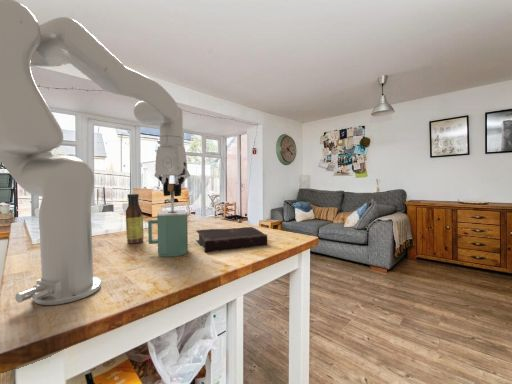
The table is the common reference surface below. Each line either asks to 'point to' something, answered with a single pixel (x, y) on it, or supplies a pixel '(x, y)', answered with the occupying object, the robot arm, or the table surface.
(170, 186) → the plunger
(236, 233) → the diary
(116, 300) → the table surface
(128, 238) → the sauce bottle
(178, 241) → the press carafe
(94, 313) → the table surface
